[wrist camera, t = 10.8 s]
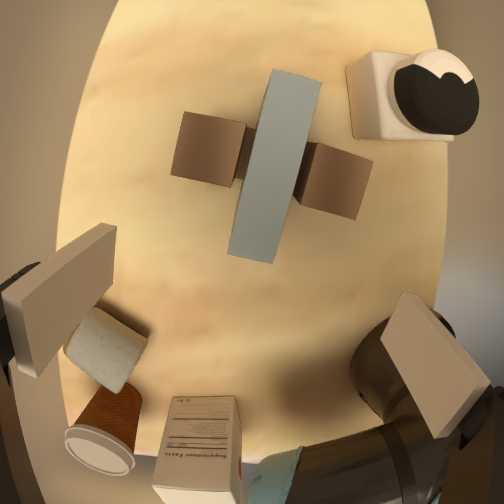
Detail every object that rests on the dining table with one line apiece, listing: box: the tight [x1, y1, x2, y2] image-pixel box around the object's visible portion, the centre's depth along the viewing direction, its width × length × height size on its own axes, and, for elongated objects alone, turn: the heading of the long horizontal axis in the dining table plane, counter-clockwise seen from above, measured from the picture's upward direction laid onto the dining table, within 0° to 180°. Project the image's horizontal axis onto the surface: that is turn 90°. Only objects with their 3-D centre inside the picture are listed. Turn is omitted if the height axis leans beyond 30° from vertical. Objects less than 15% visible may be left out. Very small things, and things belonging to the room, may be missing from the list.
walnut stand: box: [170, 111, 373, 220], centre depth 23 cm, size 12×4×10 cm, turn 76°
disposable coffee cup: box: [65, 383, 142, 476], centre depth 32 cm, size 10×10×12 cm
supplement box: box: [151, 396, 242, 504], centre depth 32 cm, size 9×9×15 cm
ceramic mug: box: [63, 307, 148, 394], centre depth 31 cm, size 11×8×8 cm
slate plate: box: [228, 69, 322, 264], centre depth 23 cm, size 3×12×10 cm, turn 166°
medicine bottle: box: [346, 49, 479, 142], centre depth 20 cm, size 7×7×12 cm
